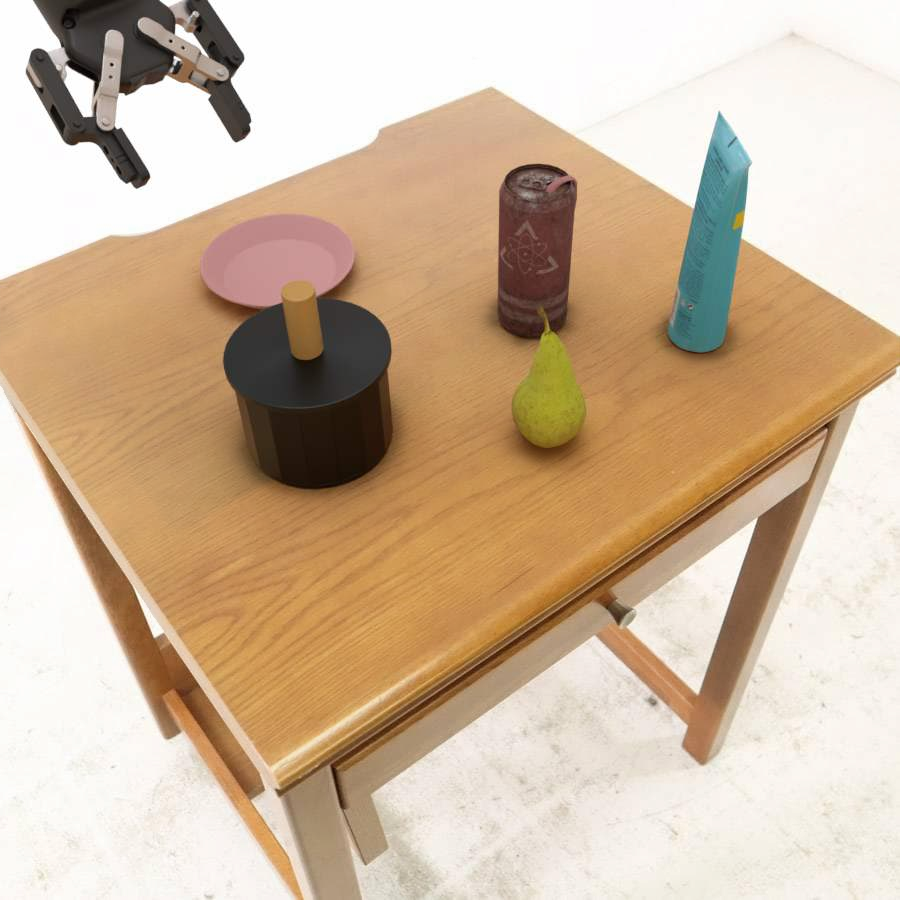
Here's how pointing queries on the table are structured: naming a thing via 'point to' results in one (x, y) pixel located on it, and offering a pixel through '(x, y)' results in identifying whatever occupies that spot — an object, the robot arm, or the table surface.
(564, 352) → the fruit
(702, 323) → the tube
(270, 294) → the plate
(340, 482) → the tin
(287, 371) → the lid
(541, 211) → the can
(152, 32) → the robot arm
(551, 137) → the table surface
